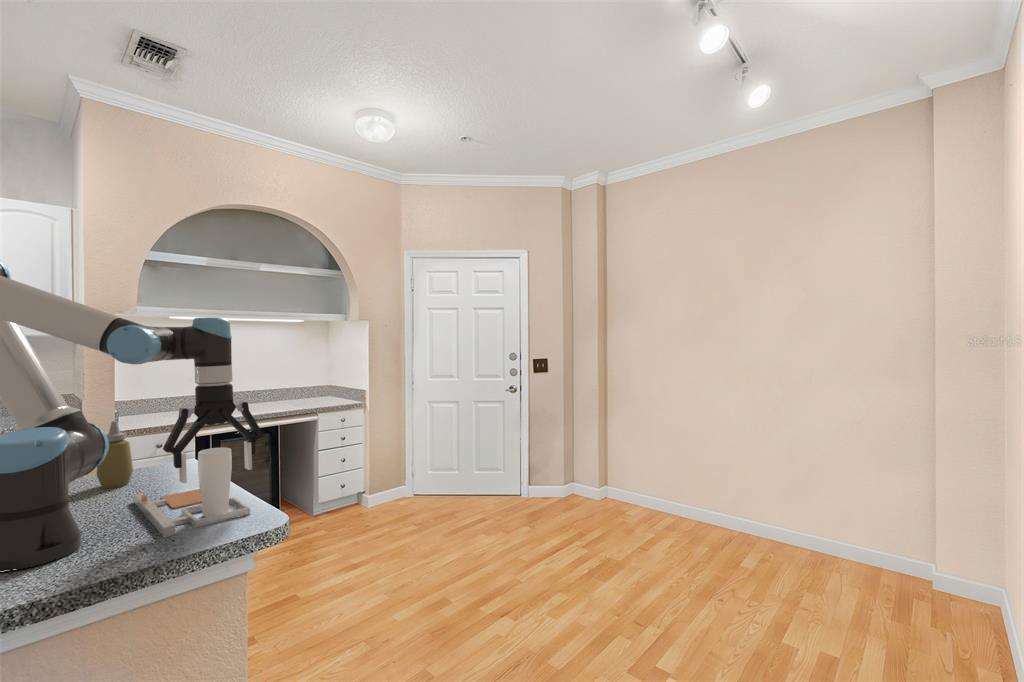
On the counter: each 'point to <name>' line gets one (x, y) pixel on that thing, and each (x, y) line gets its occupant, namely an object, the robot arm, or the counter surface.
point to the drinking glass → (214, 480)
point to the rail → (182, 510)
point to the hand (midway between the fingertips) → (217, 475)
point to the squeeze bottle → (116, 460)
